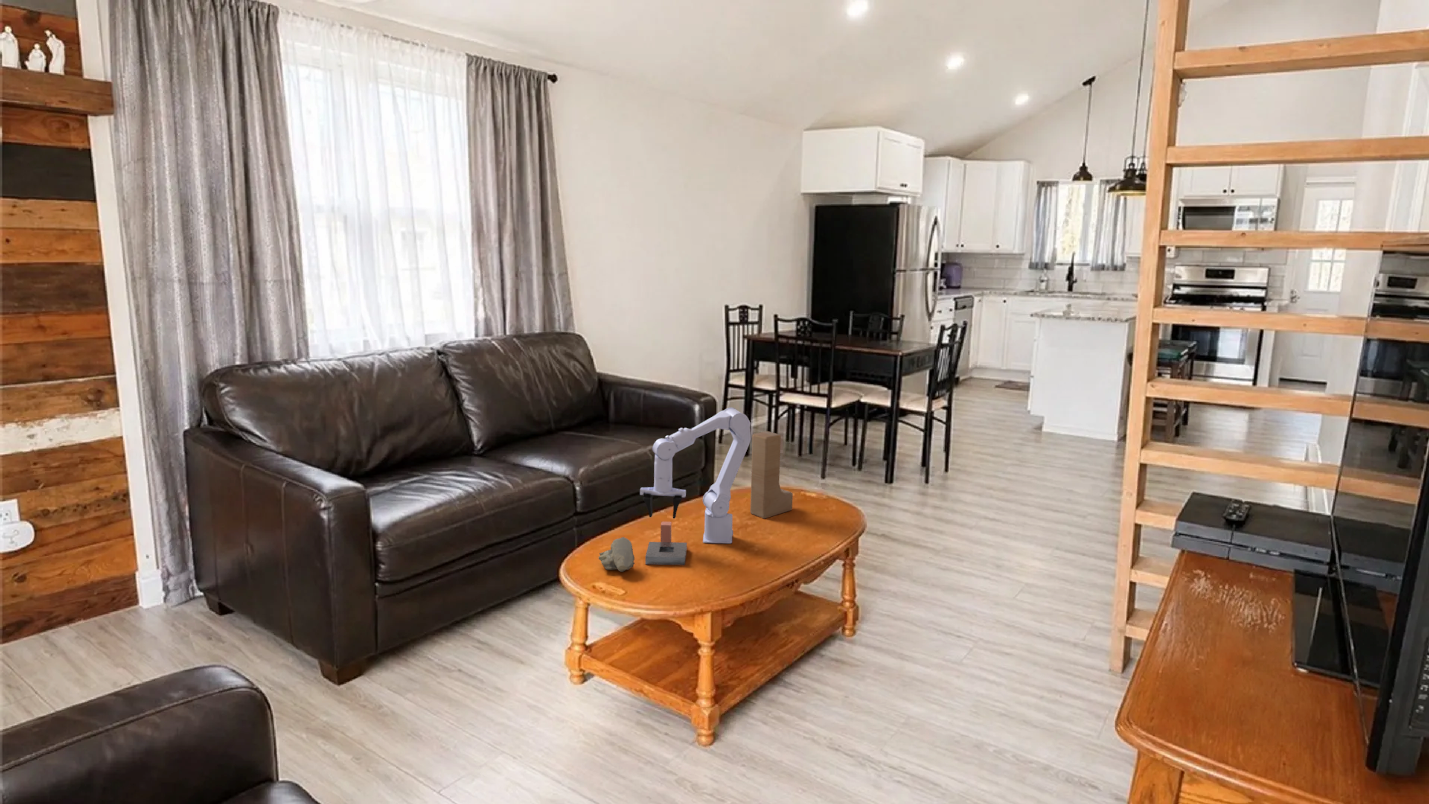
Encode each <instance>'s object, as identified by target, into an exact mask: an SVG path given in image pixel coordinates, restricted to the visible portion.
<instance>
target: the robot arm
mask: <svg viewBox="0 0 1429 804" xmlns="http://www.w3.org/2000/svg"><path fill="white" fill-rule="evenodd" d="M750 421H751V420H749V417H748V416H747V415H746V414H745V413H743V412H741V411H739V410H738V409H736V408H735V407H727V408H725V409H724V410H720V411H719V412H717V413H716V414H714V415H713V416H712V417H710V418H708V419H706V420H704V421H702V422H701V423H699V424H697V425H696V426H694V427H691V428H687V427H684V428H683V427H680V428H678V431H676V432H674V433H672V434H670V435H666V436H665V437H664V438H663V437H662V438H658V439H656V441H654V443H653V446H652V447H651V449H652V452H653V453H654V463H653V465H654V469H653V470H654V473H653V477H654V478H653V479H654V481H653V482H654V483H653V487H652V486H651V487H648V486H647V487H641V486H640V489H639V495H640V496H643V497H642V500H643V501H644V504H645V506H646V509H647V513H648V517H649V518H652V517H653V512H654V511H653V499H654V498H653V497H654V496H664V497H665V496H667V497H673V498H672V502H673V504H672V505H673V510H672V519H673V520H674V519H676V517H677V511H678V508H679V506H680V503H681V501H682V499H683V498H686V497H687V496H686V495H687V490H686V489H680V488H675V487H673V457H674V456H675V454H676V453H678V452H680V451H682V450H684V449H686V448H688V447H690V446H691V445H693V444H695V441H696V439H697V438H699V437H700V438H701V436H705V435H706V434H708V433H711V432H714V431H715V430H718V429H721V430H726V431H729V432H730V435H731V436H732V442H731V445H730V447H729V450H728V451H727V454H726V456H725V459H724V460H723V463H722V466H721V469H720V471H719V473H718V475H717V478H716V481H715V482H714V483H713V484H712V485H710V486H709V489H708V491H706V492H705V493H704V495H703V496H702V497H703V498H702V503H703V505H704V507H705V510H704V533H703V536H702V537H703V538H702V543H704V544H733V536H734V530H733V514H732V513H728V512H729V510H730V501H731V497H732V496H731V495H732V493H731V489H732V486H733V483H734V481H735V479H736V478H737V477H736V476H737V474H738V471H739V470H740V468H741V465H742V462H743V460H744V458H745V455H746V452H747V450H748V448H749V445H750V443H751V442H752V440H751V439H752V438H751V437H752V434H751V425H752V423H751V422H750Z"/></svg>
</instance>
